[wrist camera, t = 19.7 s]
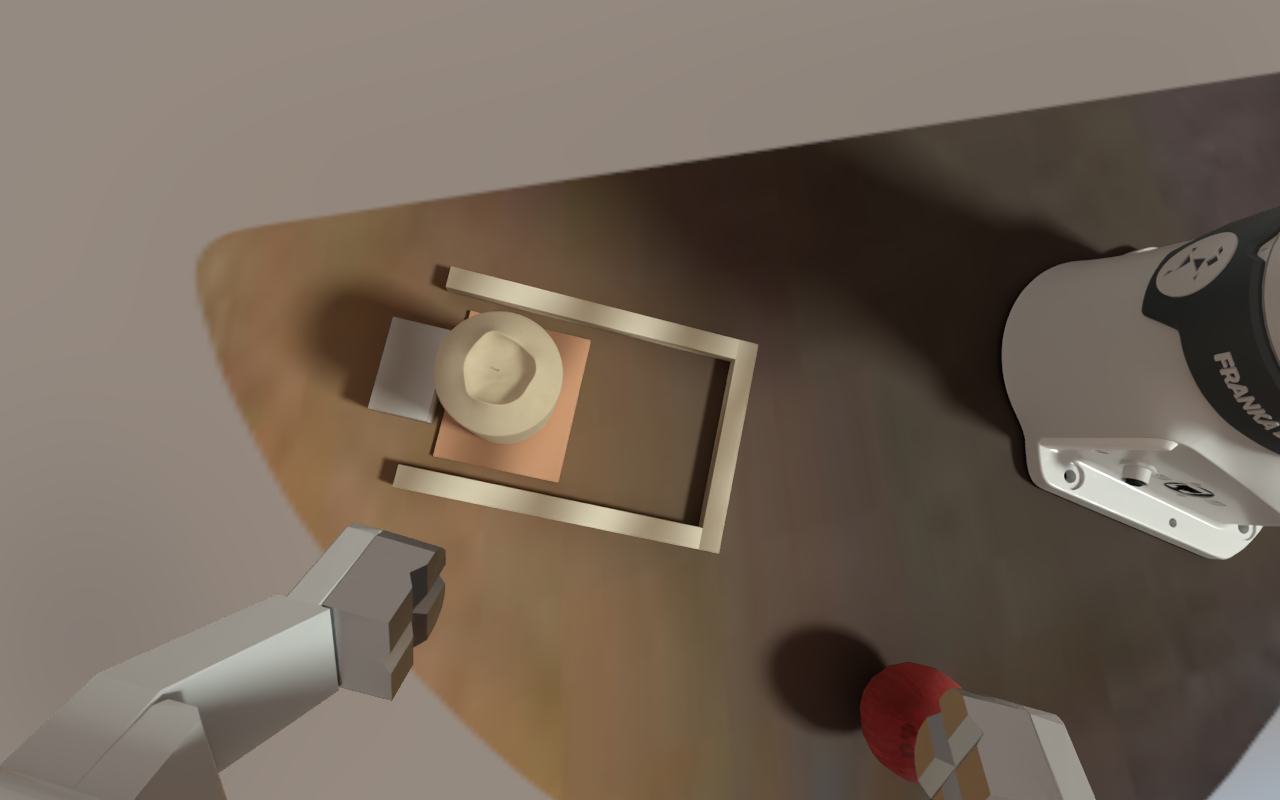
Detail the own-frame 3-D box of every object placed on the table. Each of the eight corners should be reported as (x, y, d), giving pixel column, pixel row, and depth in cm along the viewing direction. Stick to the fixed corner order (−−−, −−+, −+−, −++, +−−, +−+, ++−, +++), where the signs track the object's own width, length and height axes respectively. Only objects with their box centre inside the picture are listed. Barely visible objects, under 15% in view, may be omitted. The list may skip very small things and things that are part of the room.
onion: (894, 768, 38) (990, 846, 30) (817, 715, 37) (893, 779, 30) (941, 681, 39) (1045, 733, 31) (867, 627, 39) (953, 668, 31)
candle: (453, 350, 36) (424, 304, 26) (552, 345, 37) (560, 299, 27) (458, 448, 35) (431, 439, 26) (559, 440, 36) (569, 429, 27)
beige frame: (752, 347, 39) (764, 341, 37) (713, 551, 37) (723, 555, 35) (417, 262, 36) (411, 250, 34) (358, 478, 35) (348, 478, 33)
